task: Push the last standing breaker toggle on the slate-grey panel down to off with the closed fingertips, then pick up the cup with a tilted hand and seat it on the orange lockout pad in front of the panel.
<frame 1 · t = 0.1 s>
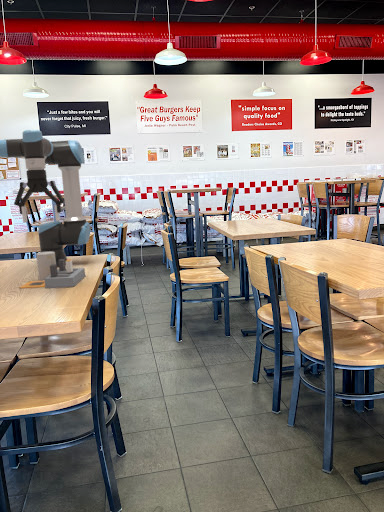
hand: (41, 221, 178), 28 cm above the table, tool pointing down, fingers open, 13 cm apart
cup: (48, 278, 199), on the table
panel: (66, 281, 190), on the table
toggle3: (69, 265, 189), point 7 cm above the table, slide at 0.0 cm
pad: (37, 284, 187), on the table
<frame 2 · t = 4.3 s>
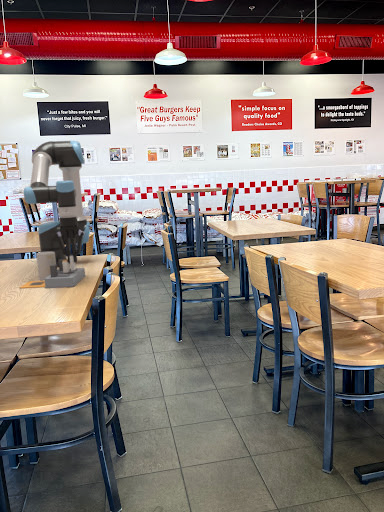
hand: (73, 269, 189), 5 cm above the table, tool pointing down, fingers closed
toggle3: (66, 265, 189), point 7 cm above the table, slide at 1.5 cm, touching gripper
everything else where it was.
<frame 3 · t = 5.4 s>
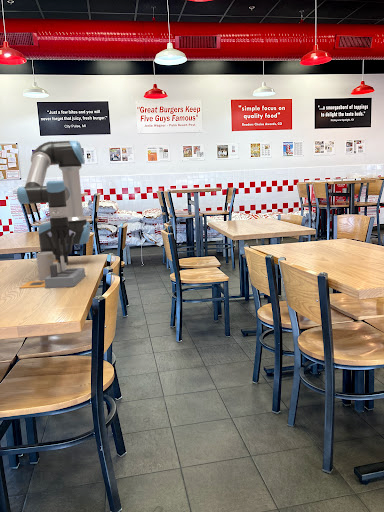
hand: (64, 270, 189), 5 cm above the table, tool pointing down, fingers closed
toggle3: (56, 266, 189), point 7 cm above the table, slide at 5.5 cm, touching gripper
everything else where it was.
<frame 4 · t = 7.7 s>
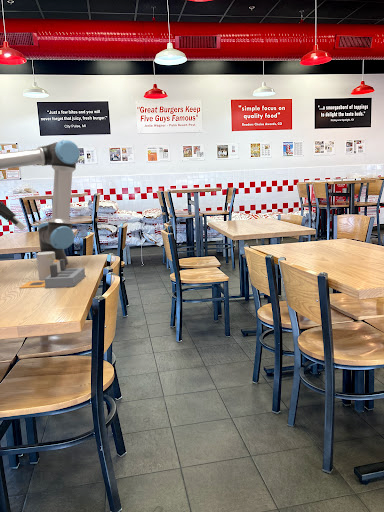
hand: (23, 228, 195), 24 cm above the table, tool tilted 45°, fingers closed
toggle3: (56, 266, 189), point 7 cm above the table, slide at 5.5 cm
everything else where it was.
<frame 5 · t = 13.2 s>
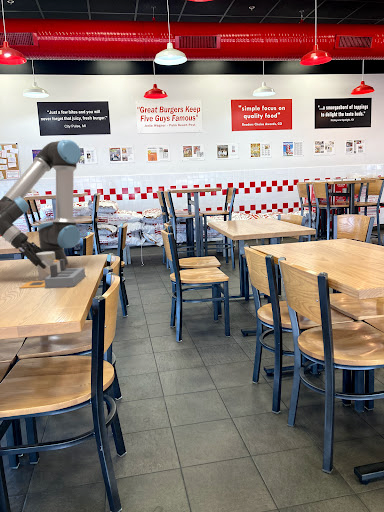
hand: (54, 270, 198), 4 cm above the table, tool tilted 45°, fingers closed on cup, 8 cm apart
cup: (48, 278, 199), on the table, touching gripper
everything else where it was.
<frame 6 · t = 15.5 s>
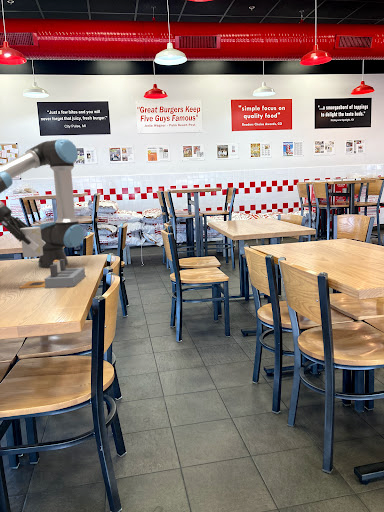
hand: (40, 246, 184), 17 cm above the table, tool tilted 45°, fingers closed on cup, 8 cm apart
cup: (33, 256, 185), point 13 cm above the table, touching gripper
everything else where it was.
when the fingers open (5 cm above the table, at t = 18.0 s): cup drops 1 cm, resting on pad.
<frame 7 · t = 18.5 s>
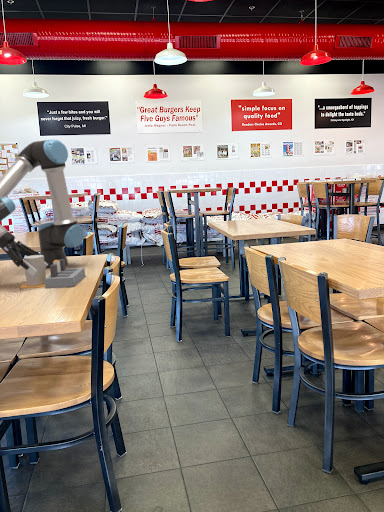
hand: (40, 270, 186), 6 cm above the table, tool tilted 45°, fingers open, 13 cm apart
cup: (36, 284, 187), resting on pad
everything else where it was.
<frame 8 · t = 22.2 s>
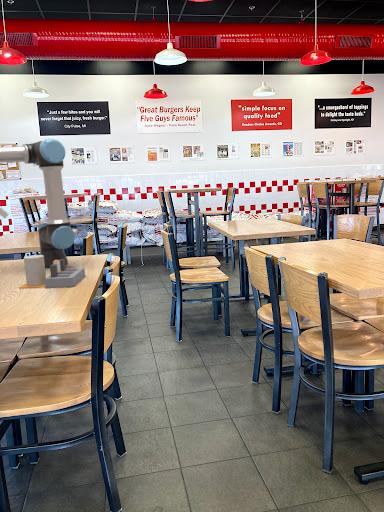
hand: (0, 217, 187), 30 cm above the table, tool tilted 45°, fingers open, 13 cm apart
nothing on the table moved.
at the end: toggle3 slide at 5.5 cm; cup 0.1 cm from the pad (horizontally); cup tilted 0° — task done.
